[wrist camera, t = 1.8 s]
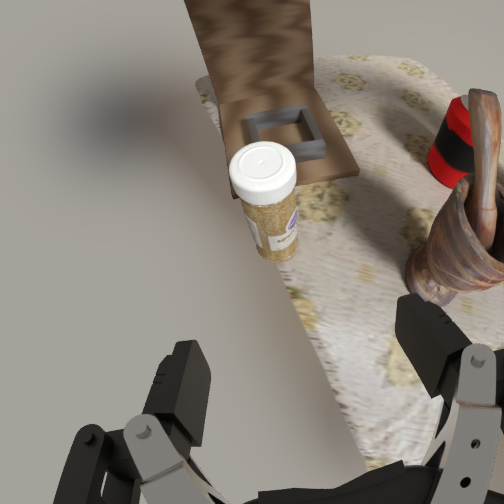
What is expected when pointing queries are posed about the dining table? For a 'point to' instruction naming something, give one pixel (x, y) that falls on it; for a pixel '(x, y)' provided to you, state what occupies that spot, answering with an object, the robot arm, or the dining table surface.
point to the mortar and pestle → (467, 219)
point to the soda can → (453, 145)
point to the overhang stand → (269, 83)
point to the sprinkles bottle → (268, 197)
